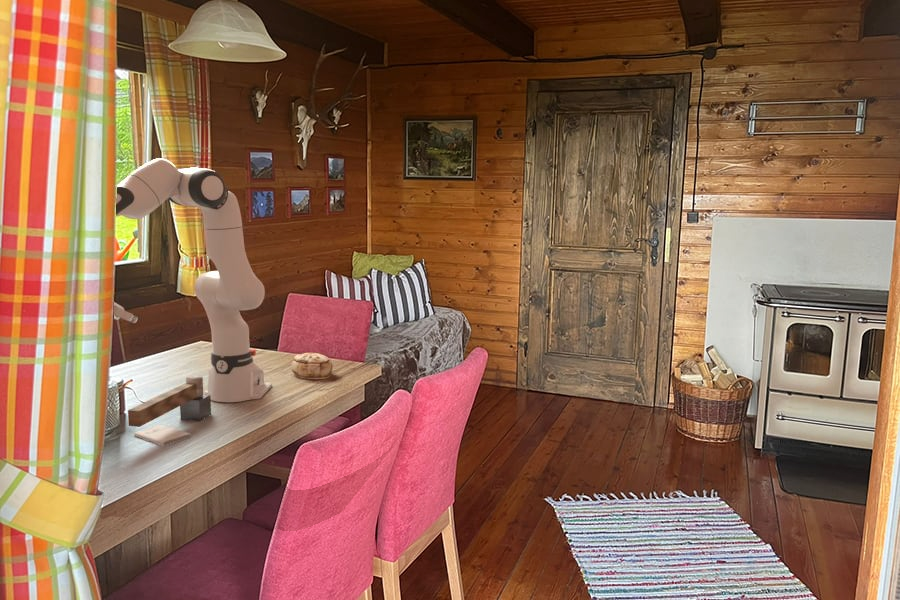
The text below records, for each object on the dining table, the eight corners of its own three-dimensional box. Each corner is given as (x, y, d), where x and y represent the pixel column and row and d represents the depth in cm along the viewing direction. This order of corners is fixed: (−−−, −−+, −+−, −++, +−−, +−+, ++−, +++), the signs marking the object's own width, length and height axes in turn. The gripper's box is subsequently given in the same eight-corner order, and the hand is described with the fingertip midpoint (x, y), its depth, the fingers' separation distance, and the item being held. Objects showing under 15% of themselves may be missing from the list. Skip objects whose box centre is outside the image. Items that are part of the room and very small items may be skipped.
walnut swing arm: (192, 392, 207) (191, 375, 206) (206, 393, 206) (205, 376, 205) (126, 425, 178) (125, 406, 177) (142, 427, 177) (141, 407, 176)
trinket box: (329, 381, 245) (329, 358, 244) (285, 380, 245) (285, 357, 244) (336, 371, 258) (336, 349, 257) (294, 370, 258) (294, 348, 257)
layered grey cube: (192, 413, 209) (191, 393, 208) (211, 414, 207) (210, 394, 206) (180, 419, 203) (179, 399, 202) (200, 421, 202) (199, 400, 201)
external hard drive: (163, 448, 183) (134, 438, 190) (190, 439, 189) (161, 429, 196) (163, 442, 182) (134, 432, 189) (190, 433, 189) (161, 423, 196)
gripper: (78, 279, 172) (135, 304, 175) (94, 289, 192) (144, 311, 195) (65, 303, 171) (122, 327, 174) (82, 310, 190) (133, 332, 194)
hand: (134, 319), depth 185 cm, fingers open, 8 cm apart
